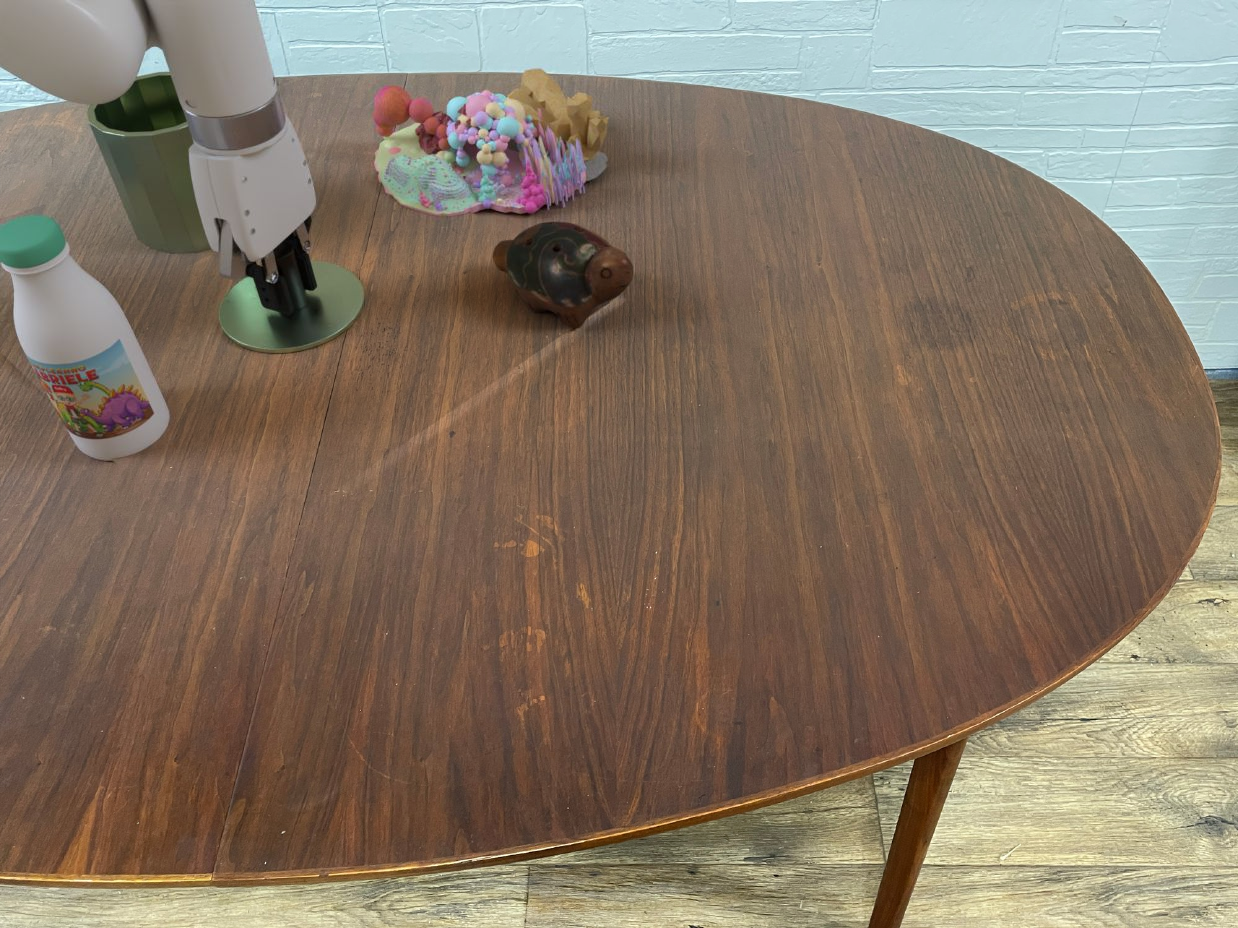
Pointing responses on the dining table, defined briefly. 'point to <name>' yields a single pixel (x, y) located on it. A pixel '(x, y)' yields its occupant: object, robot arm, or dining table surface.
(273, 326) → the tin lid
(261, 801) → the dining table surface
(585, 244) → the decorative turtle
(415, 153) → the candy landscape model
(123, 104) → the tin
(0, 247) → the milk bottle
